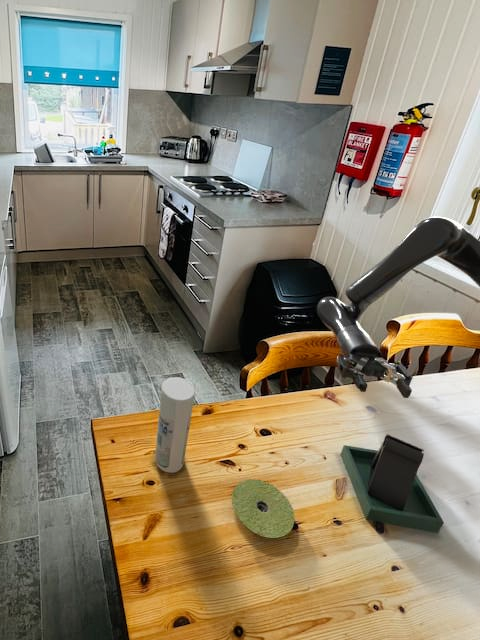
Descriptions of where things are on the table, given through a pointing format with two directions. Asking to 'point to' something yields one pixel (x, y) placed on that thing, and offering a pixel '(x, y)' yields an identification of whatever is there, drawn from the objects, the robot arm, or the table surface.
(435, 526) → the tray
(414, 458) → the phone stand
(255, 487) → the green abrasive disc
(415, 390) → the table surface
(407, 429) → the table surface
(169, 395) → the spray can
